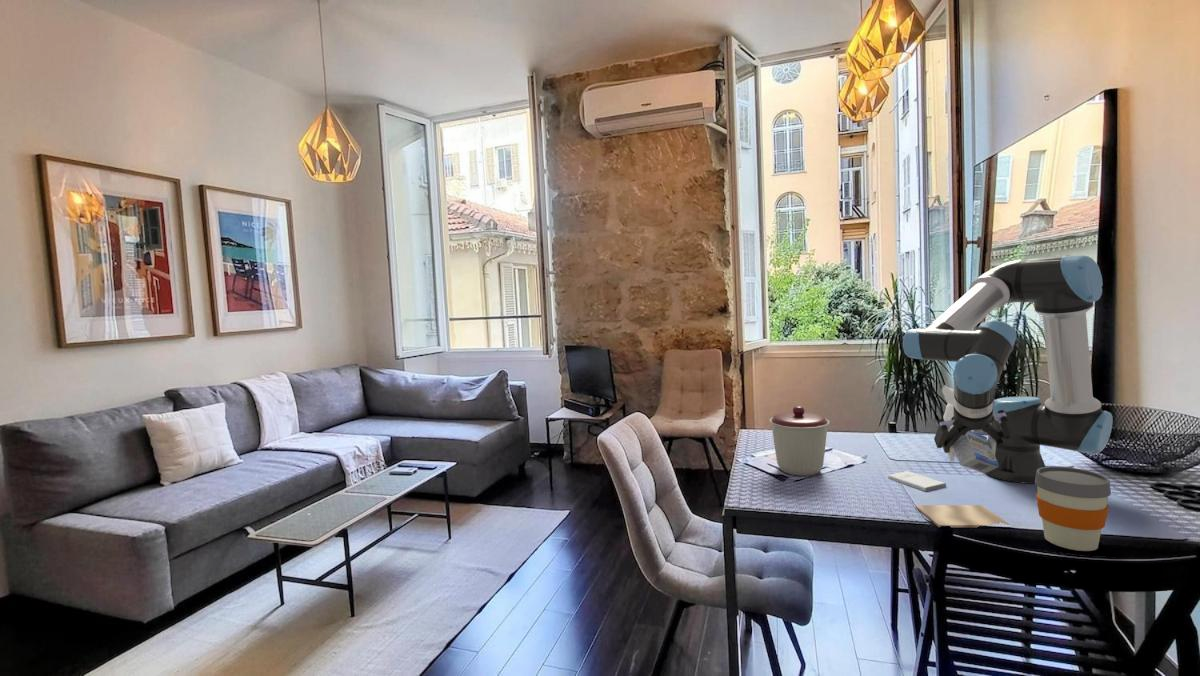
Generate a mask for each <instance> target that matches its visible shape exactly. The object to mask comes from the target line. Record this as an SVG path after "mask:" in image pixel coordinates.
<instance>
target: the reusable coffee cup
mask: <svg viewBox="0 0 1200 676" xmlns="http://www.w3.org/2000/svg"><path fill="white" fill-rule="evenodd" d="M1110 483H1111V482H1110V479H1109V478H1108V477H1107V476H1104V475H1103V474H1101V473H1098V472H1094V471H1090V470H1088V469H1083V468H1082V469H1081V468H1077V467H1076V468H1075V467H1069V466H1067V467H1066V466H1046V467H1042V468H1039V469H1037V472H1036V478H1035V483H1034V484H1035V485H1036V487H1037V493H1036V496H1035V497H1036V503H1037V509H1038V510H1037V511H1038V515H1039V517H1040V518H1041V520H1042V530H1043V535H1044V539H1045V540H1046V541H1047V542H1050V543H1051V544H1053V545H1055V546H1058V547H1059V548H1060V547H1061V548H1064V549H1068V550H1073V551H1080V552H1091V551H1096V550H1097V549H1099V543H1100V539H1101V534H1102V529H1104V528H1106V527H1105V526H1106V523H1107V517H1108V514H1109V513H1108V512H1109V508H1110V506H1109V504H1108V500H1109V497H1110V496H1111V495H1112V494H1111V493H1112V492H1111V484H1110Z"/></svg>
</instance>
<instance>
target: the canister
mask: <svg viewBox="0 0 1200 676" xmlns="http://www.w3.org/2000/svg"><path fill="white" fill-rule="evenodd" d="M805 411H806V410H805V409H804V407H803V406H801V405H796V406H794V407H793V408H792V411H791V412H790V411H788V412H781V413H778V414H775V415H774V416H772V417H770V418H769V419H768V422H769V424H770V425H771V429H772V431H771V432H772V439H773V445H774V450H775V458H776V462H777V465H778V468H779V469H780V470H781V471H782V472H784V473H786V474H788V475H791V476H792V475H793V476H800V477H801V476H802V477H805V476H813V475H814V476H815V475H817V474H818V473H820V472H821V471H822V469H823V466H824V461H825V455H826V444H827V443H826V442H827V434H828V426H829V425H830V420H829V419H827V418H826V417H824V416H823V415H820V414H817V413H812V412H805Z"/></svg>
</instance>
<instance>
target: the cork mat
mask: <svg viewBox="0 0 1200 676" xmlns="http://www.w3.org/2000/svg"><path fill="white" fill-rule="evenodd" d="M915 508H916V509H917V510H918V511H919V512H920V513H921V514H922V515H924V516H925V517H926V518H927V517H928V518H929V519H928V518H927V519H928V520H930V521H931V522H932V521H933V522H932V523H933V524H934V525H935V526H937V527H938V528H940V527H941V526H950V527H951V528H953V529H954V528H958V529H959V528H961V529H962V528H969V529H970V528H977V527H979V526H986V525H993V524H996V523H997V524H999V523H1000V522H1001V523H1004V524H1007V525H1009V524H1010V522H1008V521H1006V520H1004V519H1003V518H1002V517H1000V516H999V515H997V514H996V513H995V512H993V511H991V510H989V508H987V507H985V505H982V504H955V505H954V504H949V505H948V504H941V505H940V504H936V505H934V504H933V505H932V504H926V505H922V504H919V505H917V504H916V505H915ZM940 529H941V528H940Z"/></svg>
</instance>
